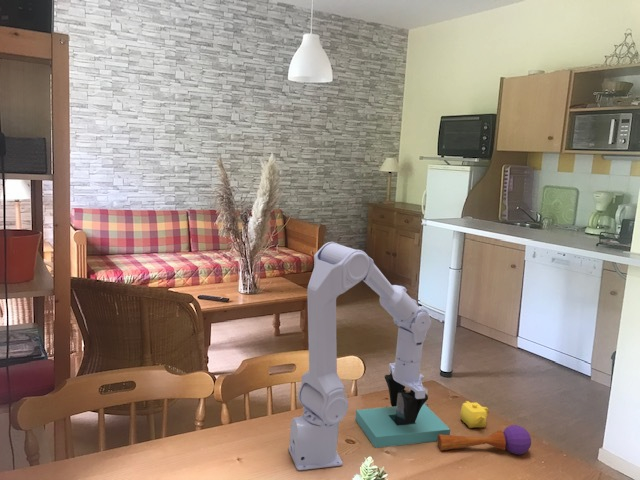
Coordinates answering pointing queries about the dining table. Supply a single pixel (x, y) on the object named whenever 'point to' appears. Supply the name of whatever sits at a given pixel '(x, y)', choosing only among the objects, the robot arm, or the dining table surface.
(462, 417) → the teapot
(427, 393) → the short pin
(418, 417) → the hole plate
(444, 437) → the kendama
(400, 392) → the tall pin
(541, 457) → the dining table surface
